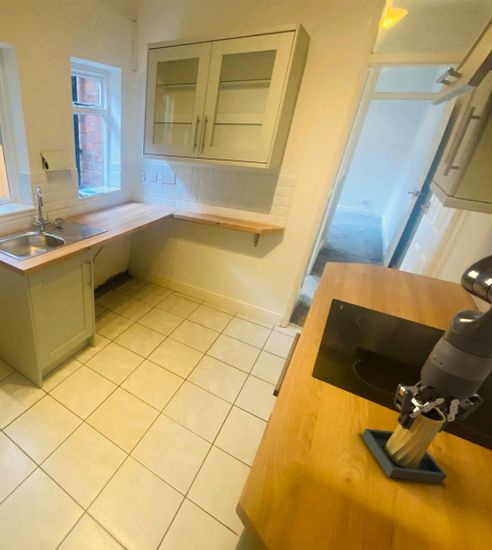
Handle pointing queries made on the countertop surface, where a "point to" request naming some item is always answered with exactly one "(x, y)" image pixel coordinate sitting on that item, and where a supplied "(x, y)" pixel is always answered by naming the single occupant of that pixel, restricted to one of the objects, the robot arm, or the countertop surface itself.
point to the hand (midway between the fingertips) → (418, 427)
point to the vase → (414, 439)
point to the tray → (424, 472)
